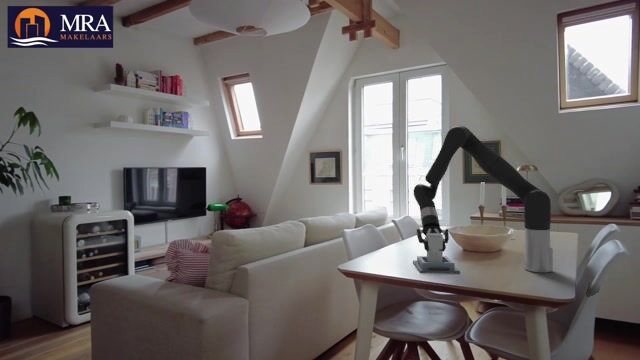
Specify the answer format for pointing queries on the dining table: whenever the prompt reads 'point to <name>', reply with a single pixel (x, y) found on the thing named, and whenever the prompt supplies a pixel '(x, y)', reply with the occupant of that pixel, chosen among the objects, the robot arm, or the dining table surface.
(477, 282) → the dining table surface
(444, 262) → the tray
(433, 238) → the skincare box
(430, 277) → the dining table surface
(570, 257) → the dining table surface
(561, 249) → the dining table surface
